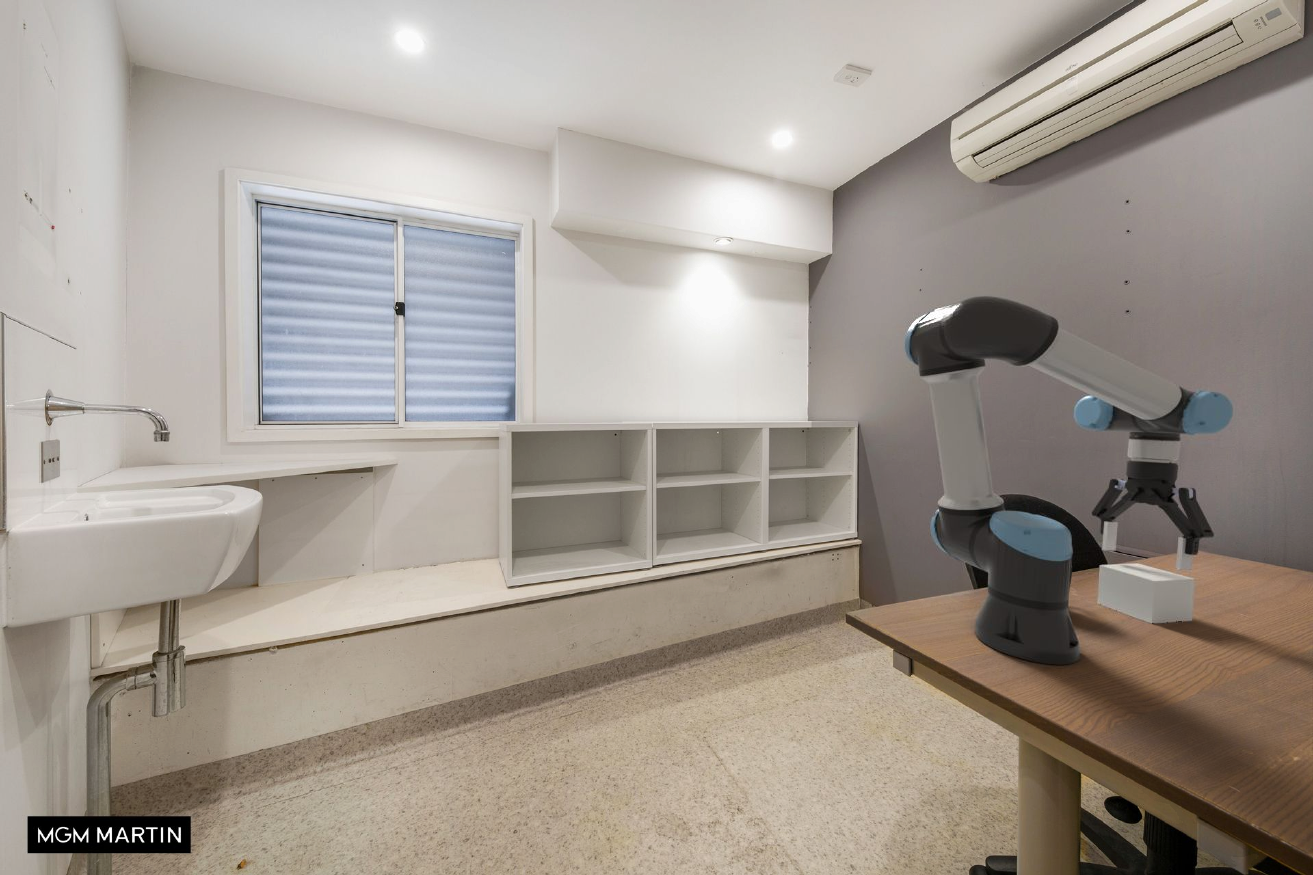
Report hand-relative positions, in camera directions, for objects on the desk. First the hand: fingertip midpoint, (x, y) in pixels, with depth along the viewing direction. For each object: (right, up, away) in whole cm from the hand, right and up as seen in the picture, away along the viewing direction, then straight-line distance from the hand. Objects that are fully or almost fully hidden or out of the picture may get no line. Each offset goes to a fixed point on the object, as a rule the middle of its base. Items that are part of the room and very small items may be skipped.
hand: (1143, 559), depth 101 cm
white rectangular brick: (0, -12, +1) cm, 12 cm away
